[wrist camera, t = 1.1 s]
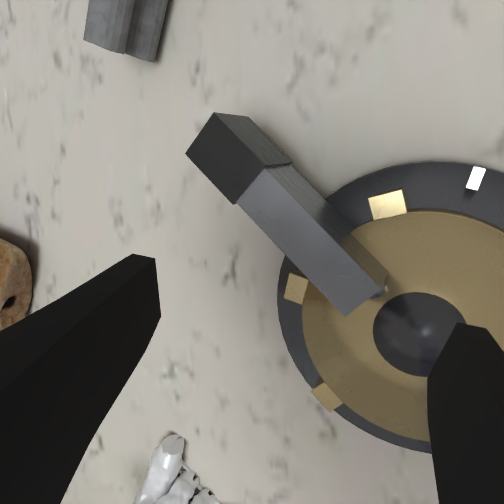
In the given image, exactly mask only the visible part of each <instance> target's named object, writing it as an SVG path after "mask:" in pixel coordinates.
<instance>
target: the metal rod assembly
mask: <svg viewBox="0 0 504 504" xmlns="http://www.w3.org/2000/svg"><path fill="white" fill-rule="evenodd" d="M167 3H168V0H89V6H88V12H87V19H86V25H85V32H84V39H83V40H85V41H88V42H90V43H93V44H95V45H97V46H100V47H102V48H104V49H107V50H109V51H113V52H116V53H121V54H124V53H125V54H128V55H131V56H133V57H136V58H139V59H143V60H147V61H150V62H153V63H154V61H155V57H156V52H157V48H158V43H159V39H160V35H161V30H162V26H163V21H164V17H165V12H166V8H167Z"/></svg>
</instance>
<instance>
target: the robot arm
mask: <svg viewBox="0 0 504 504" xmlns="http://www.w3.org/2000/svg"><path fill="white" fill-rule="evenodd" d="M160 318H161V310H160V301H159V291H158V282H157V272H156V263H155V258H151V257H146V256H141V255H136V254H131V255H130V256H128V257H126V258H124V259H123V260H121V261H119V262H118V263H116V264H115V265H113V266H111V267H110V268H108V269H107V270H105V271H103V272H102V273H100V274H99V275H97V276H95V277H94V278H92V279H91V280H89V281H87V282H86V283H84V284H82V285H81V286H79V287H77V288H76V289H74V290H72V291H71V292H69V293H68V294H66V295H64V296H63V297H61V298H59V299H58V300H56V301H54V302H52V303H51V304H49V305H47V306H45V307H43V308H42V309H40V310H38V311H36V312H34V313H33V314H31V315H29V316H27V317H25V318H23V319H22V320H20V321H18V322H16V323H14V324H13V325H11V326H9V327H7V328H5V329H3V330H1V331H0V504H60V503H61V501H62V499H63V497H64V495H65V492H66V490H67V488H68V486H69V484H70V482H71V480H72V478H73V476H74V474H75V472H76V470H77V468H78V466H79V464H80V462H81V460H82V458H83V456H84V454H85V451H86V449H87V447H88V445H89V444H90V442H91V440H92V438H93V437H94V435H95V433H96V431H97V429H98V428H99V426H100V424H101V423H102V421H103V420H104V418H105V416H106V415H107V413H108V411H109V410H110V408H111V407H112V405H113V403H114V402H115V400H116V398H117V397H118V395H119V394H120V392H121V390H122V389H123V387H124V386H125V384H126V382H127V381H128V379H129V377H130V376H131V374H132V372H133V371H134V369H135V368H136V366H137V364H138V363H139V361H140V359H141V358H142V356H143V354H144V353H145V351H146V349H147V347H148V344H149V342H150V340H151V338H152V336H153V334H154V331H155V329H156V327H157V324H158V322H159V320H160ZM427 418H428V428H429V436H430V443H431V450H432V458H433V464H434V471H435V478H436V485H437V492H438V499H439V504H504V351H503V350H502V349H501V347H500V346H499V345H498V343H497V342H496V340H495V339H494V338H493V336H492V335H491V334H490V332H489V331H488V330H487V328H483V327H478V326H473V325H468V324H464V323H459V322H457V323H456V325H455V327H454V329H453V331H452V333H451V335H450V336H449V338H448V340H447V342H446V344H445V346H444V348H443V349H442V351H441V353H440V355H439V357H438V359H437V361H436V363H435V364H434V366H433V368H432V370H431V372H430V374H429V376H428V378H427Z"/></svg>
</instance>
